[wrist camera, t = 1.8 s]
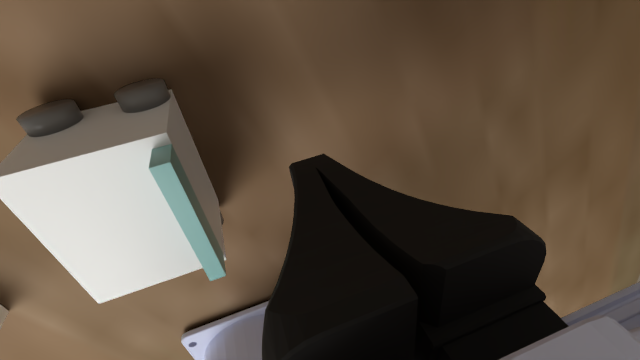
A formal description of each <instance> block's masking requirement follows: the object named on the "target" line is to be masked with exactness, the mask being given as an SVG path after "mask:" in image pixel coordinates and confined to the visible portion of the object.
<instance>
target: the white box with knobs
mask: <svg viewBox="0 0 640 360" xmlns="http://www.w3.org/2000/svg"><path fill="white" fill-rule="evenodd" d="M114 96H115V98H116V100H117V102H116V103H112V104H108V105H104V106H100V107H96V108H92V109H88V110H83V111H80V109H79V108H78V106H77V105H76V103H75V101H74V100H72V99H63V100H57V101H53V102H49V103H46V104H43V105H40V106H37V107H34V108H32V109H30V110H28V111H26V112H24V113H22V114H21V115H19V116H18V117H17V121H18V122H19V124H20V125H21V126H22V128H23V129H24V130H25V132H26V133H27V135H26V136H25V137H24V138H23V139H22V140H21V141H20V142H19V144H18V145H17V146H16V147H15V148H14V149H13V150H12V151H11V152H10V153H9V154H8V156H7V157H6V158H5V159H4V160H3V161H2V162H1V163H0V199H1V200H2V201H3V202H4V203H5V204H6V205H7V206H8V207H9V208H10V210H11V211H12V212H13V213H14V214H15V215H16V216H17V217H18V218H19V219H20V220H21V221H22V222H23V223H24V224H25V226H26V227H27V228H28V229H29V230H30V231H31V232H32V233H33V234H34V235H35V236H36V237H37V238H38V239H39V241H40V242H41V243H42V244H43V245H44V246H45V247H46V248H47V249H48V250H49V251H50V252H51V253H52V254H53V255H54V257H55V258H56V259H57V260H58V261H59V262H60V263H61V264H62V265H63V266H64V267H65V268H66V269H67V270H68V272H69V273H70V274H71V275H72V276H73V277H74V278H75V279H76V280H77V281H78V282H79V283H80V284H81V285H82V286H83V288H84V289H85V290H86V291H87V292H88V293H89V294H90V295H91V296H92V297H93V298H94V299H95V300H96V301H97V302H98V304H100V303H103V302H106V301H109V300H112V299H114V298H117V297H120V296H123V295H126V294H129V293H132V292H135V291H138V290H140V289H143V288H146V287H149V286H152V285H155V284H158V283H161V282H164V281H166V280H169V279H172V278H175V277H178V276H181V275H184V274H187V273H190V272H192V271H195V270H198V269H201V268H203V269H204V271H205V272H206V274H207V276H208V278H209V280H210V281H212V280H215V279H218V278H221V277H223V276H226V271H225V263H224V260H226V254H225V247H224V239H223V232H222V225H223V221H224V220H223V217H222V214H221V212H220V209H219V202H218V198H217V196H216V193H215V191H214V189H213V186H212V184H211V181H210V179H209V177H208V174H207V172H206V170H205V167H204V165H203V163H202V160H201V158H200V155H199V153H198V151H197V148H196V146H195V144H194V141H193V139H192V136H191V134H190V132H189V129H188V127H187V125H186V122H185V120H184V118H183V115H182V113H181V110H180V108H179V106H178V103H177V101H176V99H175V96H174V94H173V92H172V89H170V90H168V89H167V86H166V84H165V82H164V80H163V79H147V80H142V81H139V82H135V83H132V84H129V85H127V86H124V87H122V88H120V89H119V90H117V91H116V92H115V93H114Z"/></svg>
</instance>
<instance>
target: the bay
mask: <svg viewBox="0 0 640 360" xmlns="http://www.w3.org/2000/svg"><path fill="white" fill-rule="evenodd" d="M8 313H9V311H8V310H7V309H6V308H4V307H3V306H2V305H1V304H0V329H1V327H2V325H3V323H4V321H5V319H6V317H7V315H8Z"/></svg>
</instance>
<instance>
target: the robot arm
mask: <svg viewBox="0 0 640 360" xmlns="http://www.w3.org/2000/svg"><path fill="white" fill-rule="evenodd" d="M289 169H290V173H291V178H292V182H293V186H294V193H295V203H294V218H293V226H292V232H291V237H290V242H289V246H288V250H287V254H286V258H285V261H284V264H283V267H282V270H281V273H280V276H279V279H278V281H277V284H276V287H275V289H274V291H273V293H272V296H271V298H270V300H269V301H267V302H264V303H262V304H259V305H256V306H254V307H251V308H248V309H246V310H243V311H240V312H238V313H235V314H233V315H230V316H227V317H225V318H222V319H219V320H217V321H214V322H211V323H209V324H206V325H203V326H201V327H198V328H196V329H193V330H190V331H188V332H186V333H184V334H183V335H182V338H181V341H182V344H183V345H184V346H185V348H186V349H187V350H188V352H189V353H190V354H191V355H192V357H193V358H194V359H195V360H640V282H638V283H636V284H633V285H631V286H629V287H627V288H625V289H623V290H621V291H618V292H616V293H614V294H612V295H610V296H608V297H605V298H603V299H601V300H599V301H597V302H595V303H592V304H590V305H588V306H586V307H584V308H582V309H580V310H577V311H575V312H573V313H571V314H569V315H567V316H564V317H562V318H560V317H559V316H558V315H557V314H556V313H555V312H554V311H553V310H552V309H550V308H549V307H548V306H547V305H546V304H545V303H544V302H543V301H544V300H545V298H546V296H545V293H544V292H542V291H541V290H540V289H539V288H538V287H537V286H536V285H535V282H536V280H537V277H538V275H539V272H540V270H541V268H542V265H543V263H544V260H545V256H546V246H545V242H544V241H543V240H542V239H541V238H540V237H539V236H538V235H536V234H535V233H534V232H533V231H531V230H530V229H529V228H528V227H526V226H525V225H524V224H523V223H521V222H520V221H519V220H517V219H516V218H515V217H513V216H510V215H502V214H493V213H484V212H476V211H470V210H464V209H459V208H453V207H449V206H444V205H440V204H436V203H432V202H428V201H424V200H421V199H417V198H414V197H411V196H408V195H405V194H402V193H399V192H397V191H394V190H391V189H389V188H386V187H384V186H382V185H380V184H377V183H375V182H373V181H371V180H369V179H367V178H365V177H363V176H361V175H359V174H357V173H355V172H354V171H352V170H350V169H348V168H347V167H345V166H343V165H341V164H340V163H338V162H337V161H335V160H333V159H332V158H330V157H328V156H326V155H325V154H322V155H318V156H315V157H312V158H308V159H305V160H302V161H298V162H295V163H292V164H291V165H290V166H289Z"/></svg>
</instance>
